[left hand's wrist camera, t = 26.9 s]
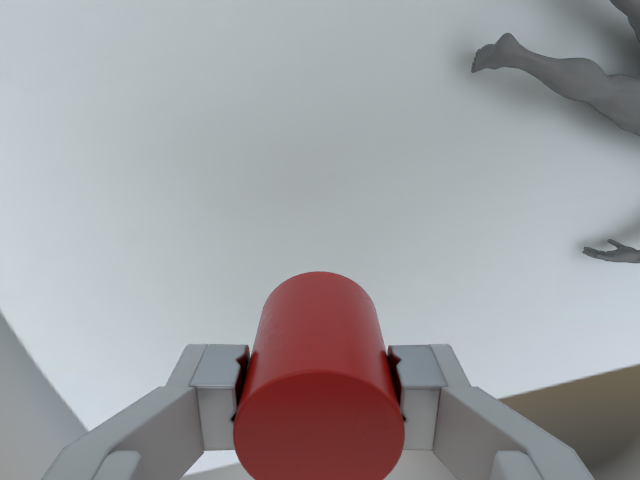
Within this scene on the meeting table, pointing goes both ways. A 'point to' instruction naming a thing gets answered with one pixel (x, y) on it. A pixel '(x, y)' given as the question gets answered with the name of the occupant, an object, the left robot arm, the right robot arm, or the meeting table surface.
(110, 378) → the meeting table surface
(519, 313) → the meeting table surface
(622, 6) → the figurine
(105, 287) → the meeting table surface
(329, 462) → the tin
